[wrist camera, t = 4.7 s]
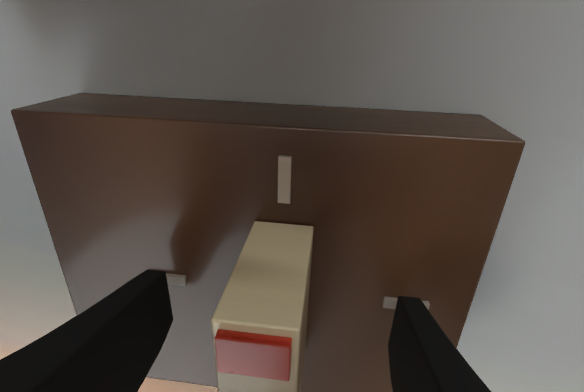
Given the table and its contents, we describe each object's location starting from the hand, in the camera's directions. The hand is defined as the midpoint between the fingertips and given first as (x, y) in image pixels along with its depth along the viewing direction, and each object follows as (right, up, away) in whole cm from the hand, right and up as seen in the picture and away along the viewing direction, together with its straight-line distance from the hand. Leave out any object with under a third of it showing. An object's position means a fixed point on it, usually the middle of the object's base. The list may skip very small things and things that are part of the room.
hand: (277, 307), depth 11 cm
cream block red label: (0, 0, +1) cm, 1 cm away
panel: (0, +2, +4) cm, 4 cm away
